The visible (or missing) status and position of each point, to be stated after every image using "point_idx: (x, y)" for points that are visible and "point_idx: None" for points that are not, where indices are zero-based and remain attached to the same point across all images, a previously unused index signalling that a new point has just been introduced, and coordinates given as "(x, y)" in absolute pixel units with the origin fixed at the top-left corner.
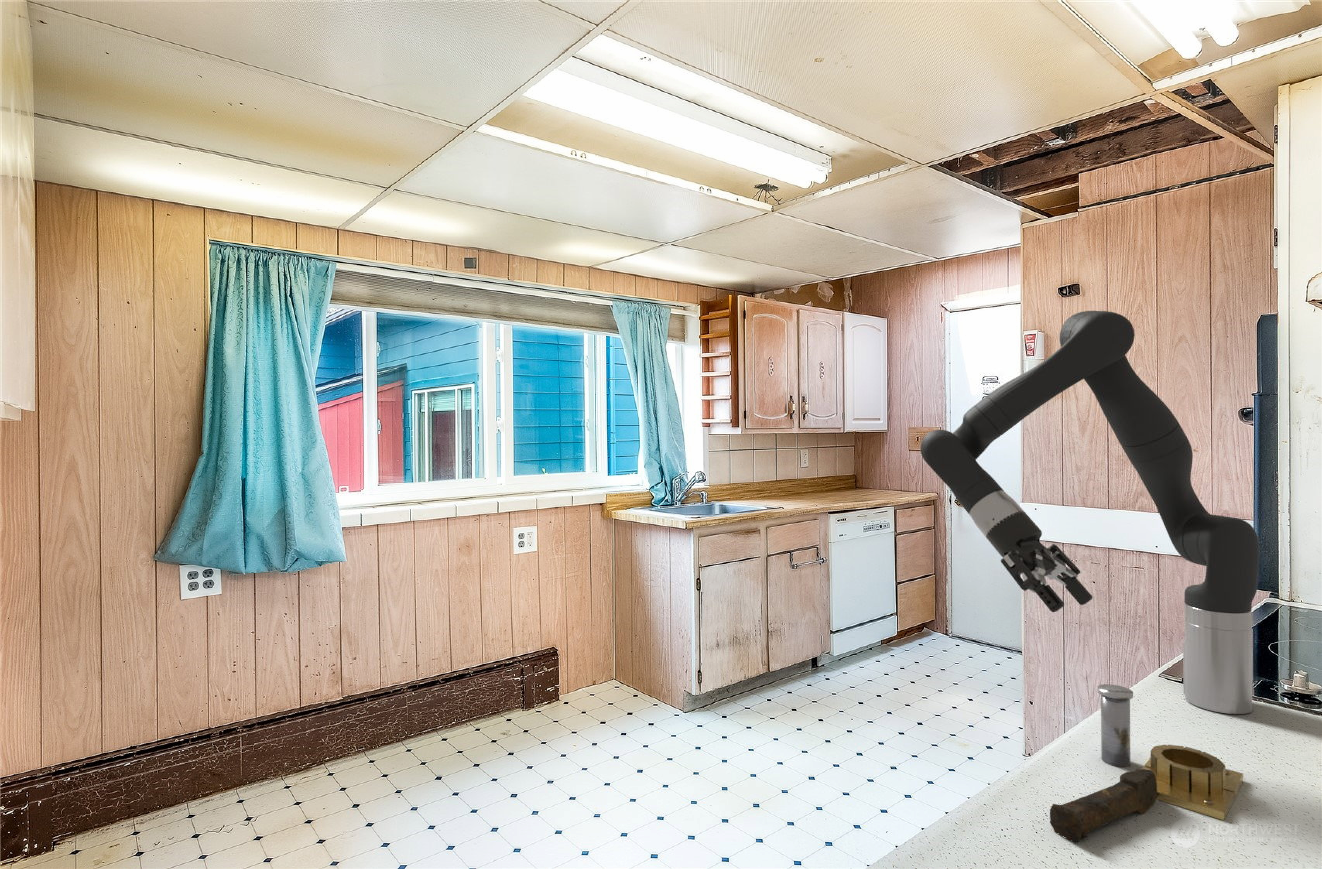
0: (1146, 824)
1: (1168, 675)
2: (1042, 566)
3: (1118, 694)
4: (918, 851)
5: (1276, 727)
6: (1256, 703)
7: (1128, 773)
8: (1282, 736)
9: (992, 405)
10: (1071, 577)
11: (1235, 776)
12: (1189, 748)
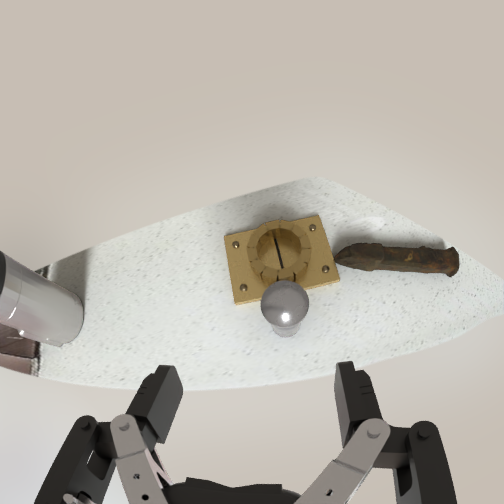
0: None
1: (32, 370)
2: (323, 486)
3: (300, 290)
4: None
5: (87, 268)
6: None
7: (372, 256)
8: (102, 259)
9: None
10: (140, 429)
11: (236, 236)
12: (250, 257)
